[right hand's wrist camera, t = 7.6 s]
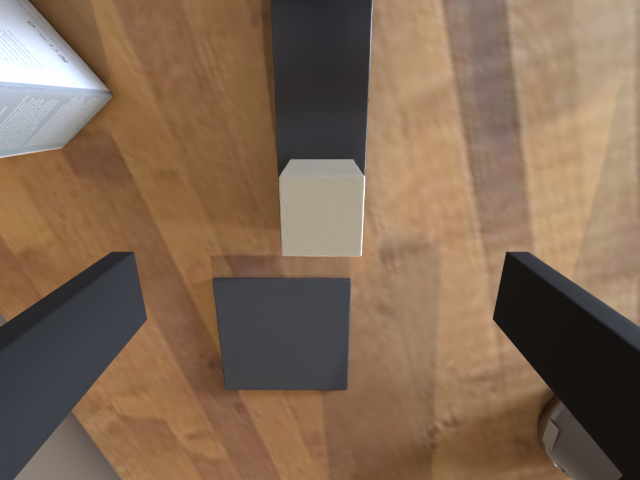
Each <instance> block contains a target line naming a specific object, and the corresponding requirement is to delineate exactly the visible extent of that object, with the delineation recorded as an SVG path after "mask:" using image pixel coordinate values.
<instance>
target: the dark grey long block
mask: <svg viewBox="0 0 640 480" xmlns="http://www.w3.org/2000/svg"><path fill="white" fill-rule="evenodd" d="M372 5H373V0H271V11H272V36H273V60H274V84H275V109H276V133H277V158H278V182H279V176H280V175H281V173H282V172H283V170H284V168H285V167H286V165H287V164H288V162H289V161H290V160H291V159H352V160H353V161H354V162H355V164H356V165H357V166H358V168H359V169H360V171H361V172H362V174H363V175H364V177H365V160H366V138H367V116H368V94H369V72H370V49H371V27H372ZM279 206H280V197H279ZM280 231H281V221H280ZM281 247H282V246H281Z"/></svg>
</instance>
